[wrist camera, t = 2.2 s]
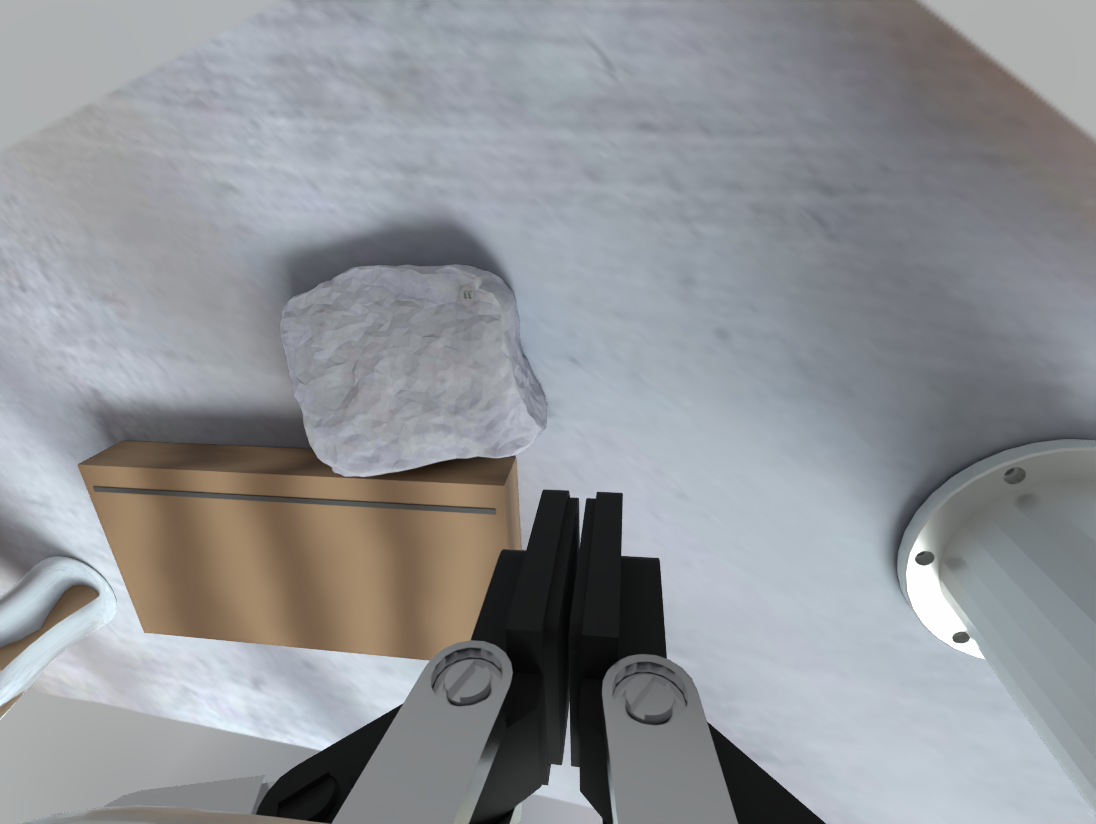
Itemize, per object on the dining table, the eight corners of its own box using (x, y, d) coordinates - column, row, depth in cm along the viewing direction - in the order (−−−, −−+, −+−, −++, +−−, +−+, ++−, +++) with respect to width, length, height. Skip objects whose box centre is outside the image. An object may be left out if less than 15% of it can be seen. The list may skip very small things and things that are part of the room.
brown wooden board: (516, 457, 30) (503, 486, 28) (526, 630, 35) (516, 669, 32) (122, 440, 34) (76, 465, 31) (179, 599, 39) (143, 633, 36)
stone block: (308, 289, 31) (353, 465, 32) (249, 287, 26) (305, 493, 28) (519, 241, 28) (557, 433, 30) (496, 229, 24) (542, 458, 25)
